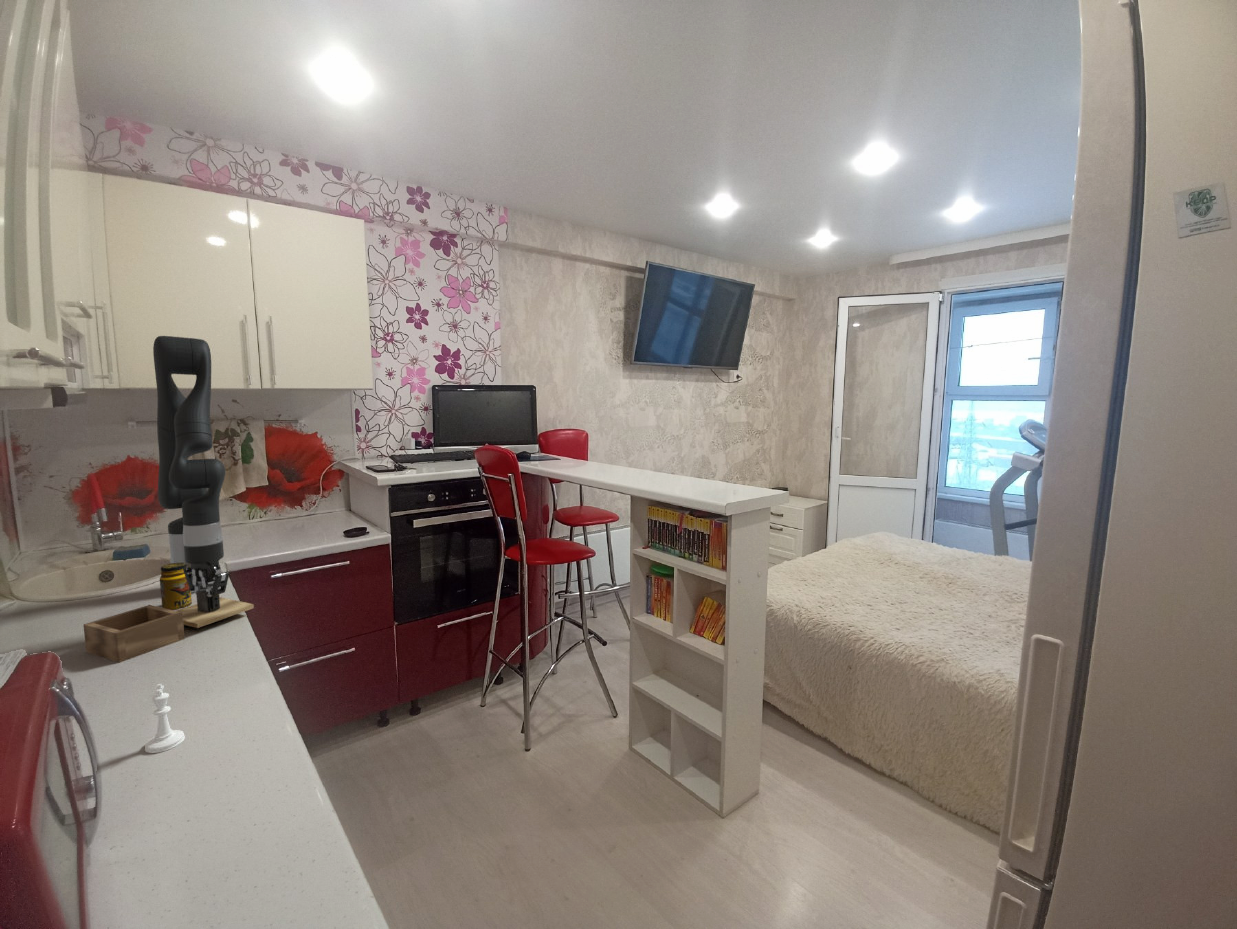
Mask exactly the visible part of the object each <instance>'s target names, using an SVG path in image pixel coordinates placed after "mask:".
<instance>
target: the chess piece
mask: <svg viewBox="0 0 1237 929" xmlns="http://www.w3.org/2000/svg"><path fill="white" fill-rule="evenodd" d="M156 687H157V689H156V691H155V693H156V694H155V695H154V696H153V697H152V702H153V704H154V705H155V707H156V709H154V711H153V713H152V715H154V716H158V718H157V719H158V721H157V722H158V724H157V732H156V734H155V735H154V736H152V737H151V738H150V739H148V740H147V741H146V743H145V744H144V751H145V753H149V754H157V753H158V754H159V753H162V752H166V751H169V750H171V749H173V748H176V747H177V746H179V745H180V744H181V743H183V741H184V740H185V739H186V736H185V733H184V731H183V730H181V729H172V728H171V725H170V723H169V718H168V714H167V713H168V712H170V711H171V709H172V708H171V706H170V705H167V704H168V700H169V696H170V694H169V692H163V689H165V685H163V684H162V683H159V684H157V686H156Z"/></svg>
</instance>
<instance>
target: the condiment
mask: <svg viewBox="0 0 1237 929" xmlns="http://www.w3.org/2000/svg"><path fill="white" fill-rule="evenodd" d="M184 568H187V564H186V563H181V562H180V563H171V564H170V563H167V564H164V565H162V566H161V567H160V577H159V584H160V596H161V597H160V598H161V608H165V609H169V610H174V611H177V610H180V609H183V608H186V607H190V606H192V604H193V601H192V600H193V599H192V593H191V591H190V588H189V586H188V583H187V580H186V577H185V574H184V571H183V569H184Z"/></svg>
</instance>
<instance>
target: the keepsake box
mask: <svg viewBox="0 0 1237 929" xmlns="http://www.w3.org/2000/svg"><path fill="white" fill-rule="evenodd" d="M83 633H84V642H85V652H86V653H88V654H90V655H93V656H96V657H101V658H103V659H107V660H109V661H113V662H115V663H120V664H121V663H123V662H126V661H128V660H131V659H133V658H136V657H139V656H142V655H144V654H147V653H150V652H152V651H155V650H159V649H161V648H164V647H166V646H170V645H172V644H174V643H177V642H180V641H183V640H185V639H186V638H185V625H184V624H183V614H182V612H178V611H177V610H169V609H165V608H162V606H160V607H159V606H157V605H151V604H148V605H144V606H142V607H137V608H135V609H131V610H128V611H124V612H121V613H118V614H113V615H111V616H107V617H104V618H101V619H97V620H94V621H91V622H86V623H83Z"/></svg>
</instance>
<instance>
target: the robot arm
mask: <svg viewBox="0 0 1237 929" xmlns="http://www.w3.org/2000/svg"><path fill="white" fill-rule="evenodd" d="M152 349H153V352H152V353H153V366H154V372H155V373H154V374H155V381H156V384H155V385H156V391H157V393H156V394H157V396H156V397H157V408H156V410H157V414H156V416H157V418H156V419H157V420H156V428H157V429H156V432H157V443H158V444H157V445H158V455H159V456H158V457H159V458H158V459H159V460H158V462H159V465H158V477H157V478H158V482H157V498H158V503H159V505H160V506H161V507H162V508H163V509H164V510H176V509H177V510H178V509H181V513H182V517H179V518H177V519H174V520H173V521H171V522H169V523H168V525H167V532H168V541H169V542H168V543H169V554H170V558H169V564H171V563H180V562H181V563H186V564H187V568H184V569H183V571H184V574H185V577H186V580H187V583H188V586H189V588H190V591H191V594H192V593H194V595H196V591H199V590H202V589H206V593H207V596H208V597H207V600H208V610H209V611H211V612H212V611H215V610H218V609H219V597H220V594H224V593H226V590H227V585H228V583H229V582H228V580H229V578H230V573H229V571H222V569H221V568H222V567H221V564H220V563H219V562H220V560H221V559H223V558H224V556H225V553H224V550H225V549H224V538H223V529H222V526H221V518H220V517H221V516H220V497H221V491H222V487H223V484H224V481H225V479H226V478H225V477H226V467H225V464H224V463H223V461H221V460H219V459H217V458H204V459H202V458H197V459H189V458H190V457H191V456H193V455H197V454H201V453H206V452H208V451H210V450H211V449H212V448H213V446H214V445H213V444H214V442H213V432H212V431H213V430H212V423H211V397H212V395H211V394H212V356H211V355H212V354H211V353H212V352H211V348H210V345H209V343H208V342H207V341H206V340H204V339H202V338H194V337H185V336H184V337H182V336H174V335H173V336H172V335H170V336H168V335H159V336H157V337H156V338H155V339H154V341H153V347H152ZM172 375H187V376H190V375H191V376H195V384H194V386H193V388H192V389H191V392H189V394H188V395H187V397H185V395H184V394H183V393H182V392H181V391H180V389H179V388H178V385H177V384H176V383H175V381H174V378H173V377H172ZM211 587H212V591H211Z"/></svg>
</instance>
